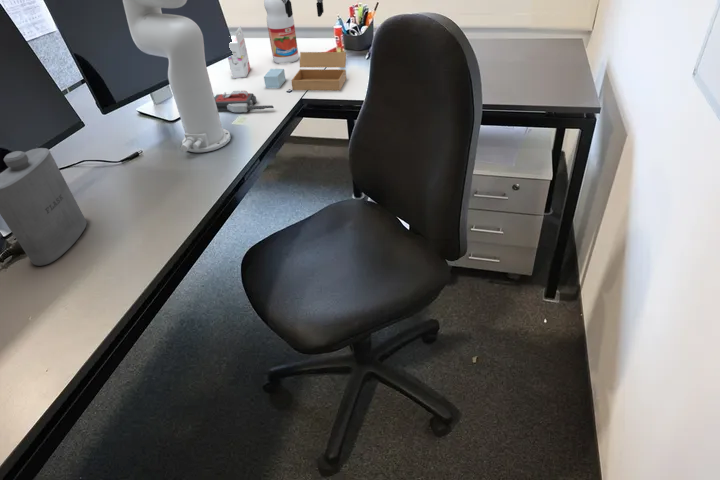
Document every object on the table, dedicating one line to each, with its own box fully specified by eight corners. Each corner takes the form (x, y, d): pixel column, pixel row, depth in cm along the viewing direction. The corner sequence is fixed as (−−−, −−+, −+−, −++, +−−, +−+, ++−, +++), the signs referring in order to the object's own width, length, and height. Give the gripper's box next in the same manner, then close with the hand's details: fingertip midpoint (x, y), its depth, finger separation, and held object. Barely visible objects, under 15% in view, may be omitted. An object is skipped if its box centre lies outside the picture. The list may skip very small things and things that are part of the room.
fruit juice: (292, 53, 183) (279, -30, 165) (303, 60, 176) (291, -27, 159) (269, 59, 179) (254, -26, 162) (280, 66, 173) (265, -22, 155)
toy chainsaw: (207, 114, 144) (273, 113, 142) (203, 100, 141) (270, 98, 139) (216, 102, 150) (279, 100, 148) (213, 88, 148) (277, 86, 146)
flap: (299, 67, 159) (299, 67, 159) (345, 67, 156) (345, 67, 156) (300, 52, 158) (300, 52, 159) (345, 52, 155) (346, 52, 156)
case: (279, 88, 156) (277, 76, 154) (265, 88, 157) (263, 76, 154) (285, 80, 161) (284, 68, 159) (272, 80, 162) (270, 68, 160)
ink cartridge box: (237, 69, 173) (227, 26, 164) (250, 68, 173) (241, 25, 163) (231, 78, 166) (221, 33, 157) (246, 77, 166) (236, 32, 157)
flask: (55, 266, 92) (-1, 176, 80) (27, 266, 93) (-33, 177, 81) (95, 220, 104) (52, 135, 91) (70, 219, 105) (23, 135, 92)
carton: (301, 79, 161) (299, 69, 159) (346, 79, 158) (345, 69, 156) (292, 91, 154) (291, 80, 152) (339, 91, 151) (338, 80, 149)
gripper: (264, -44, 139) (275, 20, 150) (323, -46, 136) (329, 18, 147) (272, -48, 145) (282, 13, 155) (329, -51, 142) (334, 12, 152)
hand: (305, 15), depth 151 cm, fingers open, 9 cm apart
